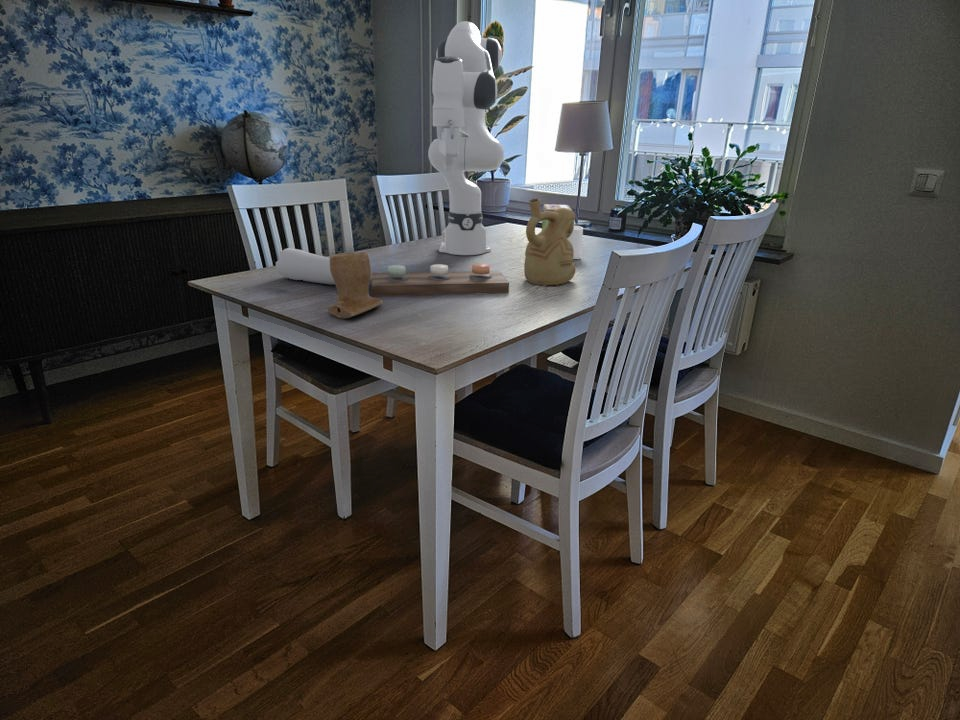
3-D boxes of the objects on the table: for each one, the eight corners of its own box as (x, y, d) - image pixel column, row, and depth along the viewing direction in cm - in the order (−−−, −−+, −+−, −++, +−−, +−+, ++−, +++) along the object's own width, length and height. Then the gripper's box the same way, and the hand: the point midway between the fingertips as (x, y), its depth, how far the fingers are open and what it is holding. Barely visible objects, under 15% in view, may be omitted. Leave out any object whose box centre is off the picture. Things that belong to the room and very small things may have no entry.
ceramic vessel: (588, 281, 190) (595, 197, 181) (545, 292, 178) (551, 202, 168) (546, 271, 202) (551, 191, 192) (503, 280, 189) (506, 196, 180)
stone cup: (351, 300, 167) (348, 244, 161) (389, 307, 162) (387, 249, 156) (314, 315, 154) (308, 255, 148) (353, 323, 149) (349, 261, 144)
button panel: (372, 283, 183) (372, 272, 182) (499, 280, 189) (499, 269, 188) (372, 296, 171) (371, 284, 169) (508, 292, 176) (509, 281, 175)
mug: (549, 260, 215) (550, 229, 211) (560, 254, 225) (562, 224, 221) (572, 263, 212) (575, 232, 208) (583, 257, 222) (586, 226, 218)
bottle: (269, 270, 181) (353, 288, 169) (279, 242, 182) (364, 257, 171) (288, 282, 189) (370, 299, 178) (298, 254, 191) (380, 269, 179)
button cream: (429, 271, 180) (429, 264, 179) (447, 270, 181) (447, 264, 180) (431, 275, 176) (431, 268, 175) (448, 275, 176) (449, 268, 176)
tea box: (569, 250, 233) (572, 209, 227) (542, 249, 233) (545, 209, 227) (565, 242, 247) (568, 203, 241) (540, 241, 247) (542, 203, 241)
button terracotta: (470, 270, 182) (471, 263, 181) (487, 270, 183) (488, 263, 182) (473, 274, 177) (473, 267, 177) (490, 274, 178) (491, 267, 177)
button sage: (387, 272, 178) (387, 265, 178) (405, 271, 179) (405, 264, 178) (388, 276, 174) (387, 269, 173) (406, 276, 175) (406, 269, 174)
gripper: (464, 121, 167) (463, 174, 172) (455, 119, 185) (455, 168, 190) (440, 120, 166) (441, 174, 171) (433, 119, 184) (434, 168, 189)
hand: (448, 171), depth 181 cm, fingers closed
